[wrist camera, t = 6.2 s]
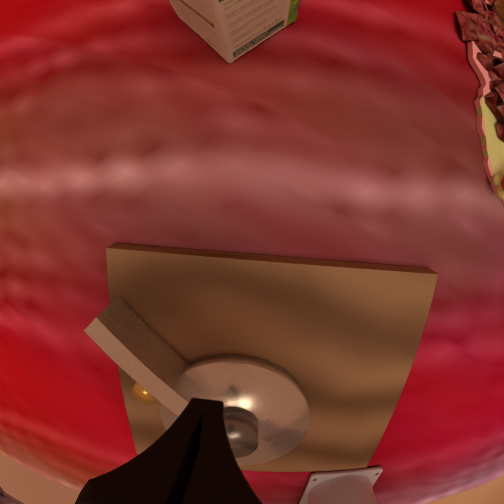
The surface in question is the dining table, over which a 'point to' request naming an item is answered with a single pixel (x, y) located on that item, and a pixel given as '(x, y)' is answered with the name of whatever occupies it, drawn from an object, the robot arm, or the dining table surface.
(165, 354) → the lever handle
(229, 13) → the syrup box
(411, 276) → the base board
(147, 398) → the gold metal knob
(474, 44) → the candy landscape model
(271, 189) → the dining table surface
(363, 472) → the robot arm
